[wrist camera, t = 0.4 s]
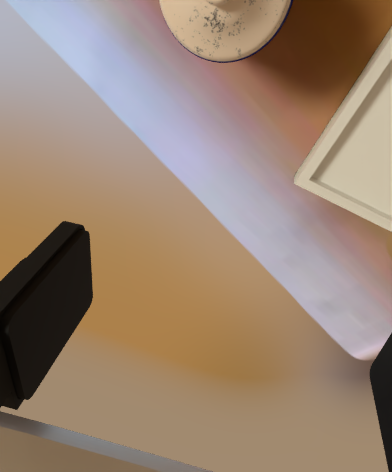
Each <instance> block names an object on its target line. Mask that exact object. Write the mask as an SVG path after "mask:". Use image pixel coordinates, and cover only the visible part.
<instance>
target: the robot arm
mask: <svg viewBox="0 0 392 472" xmlns="http://www.w3.org/2000/svg"><path fill="white" fill-rule="evenodd" d="M92 298H93V291H92V272H91V253H90V236H89V232H88V231H85V228H84V226H83V225H80V224H75V223H71V222H66V221H63V222H62V223H61V224H60V225H59V226H58V227H57V228H56V229H55V230H54V231H53V232H52V233H51V234H50V235H49V236H48V237H47V238H46V239H45V240H44V241H43V242H42V243H41V244H40V245H39V246H38V247H37V248H36V249H35V250H34V251H33V252H32V253H31V254H30V255H29V256H28V257H27V258H24V259H23V260H22V261H20V262H19V264H17V265H16V266H15V267H14V268H13V269H12V270H11V271H10V272H9V273H8V274H7V275H6V276H5V277H4V278H3V279H2V280H1V281H0V407H1V406H5V407H9V408H12V409H15V410H17V409H18V408H19V406H20V405H21V403H22V402H23V400H24V399H26V400H28V399H30V398H31V397H32V396H33V394H34V393H35V391H36V390H37V388H38V386H39V385H40V383H41V382H42V380H43V379H44V377H45V375H46V374H47V372H48V371H49V369H50V368H51V366H52V365H53V363H54V361H55V360H56V358H57V357H58V355H59V353H60V352H61V351H62V349H63V347H64V346H65V344H66V343H67V341H68V340H69V338H70V336H71V335H72V333H73V332H74V330H75V329H76V327H77V326H78V324H79V323H80V321H81V319H82V318H83V316H84V315H85V313H86V312H87V310H88V308H89V307H90V305H91V302H92ZM370 380H371V385H372V390H373V395H374V400H375V405H376V410H377V415H378V420H379V425H380V430H381V435H382V440H383V445H384V449H385V455H386V459H387V464H388V469H389V472H392V333H391V335H390V337H389V338H388V340H387V341H386V343H385V345H384V346H383V348H382V349H381V351H380V352H379V354H378V356H377V357H376V359H375V360H374V362H373V364H372V366H371V369H370ZM0 472H213V471H209V470H206V469H202V468H199V467H196V466H192V465H189V464H185V463H182V462H178V461H175V460H171V459H168V458H164V457H161V456H158V455H154V454H151V453H147V452H143V451H140V450H137V449H133V448H130V447H126V446H123V445H119V444H116V443H112V442H109V441H105V440H102V439H98V438H95V437H92V436H88V435H85V434H81V433H78V432H74V431H71V430H67V429H64V428H60V427H56V426H53V425H49V424H45V423H42V422H38V421H34V420H30V419H26V418H23V417H19V416H15V415H12V414H8V413H4V412H0Z"/></svg>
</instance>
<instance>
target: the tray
mask: <svg viewBox="0 0 392 472" xmlns="http://www.w3.org/2000/svg"><path fill="white" fill-rule="evenodd" d="M294 183H295V184H296V185H298V186H300V187H302V188H304V189H306V190H308V191H310V192H312V193H314V194H316V195H318V196H320V197H322V198H324V199H326V200H328V201H330V202H332V203H334V204H336V205H338V206H340V207H342V208H345V209H347V210H349V211H351V212H353V213H355V214H357V215H359V216H361V217H363V218H365V219H367V220H369V221H371V222H373V223H375V224H377V225H379V226H381V227H383V228H385V229H387V230H389V231H391V232H392V26H391V28H390V29H389V31H388V32H387V34H386V36H385V37H384V39H383V40H382V42H381V43H380V45H379V46H378V48H377V49H376V51H375V52H374V54H373V56H372V57H371V59H370V60H369V62H368V63H367V65H366V66H365V68H364V69H363V71H362V72H361V74H360V76H359V77H358V79H357V80H356V82H355V83H354V85H353V86H352V88H351V89H350V91H349V92H348V94H347V96H346V97H345V99H344V100H343V102H342V103H341V105H340V106H339V108H338V109H337V111H336V112H335V114H334V116H333V117H332V119H331V120H330V122H329V123H328V125H327V126H326V128H325V129H324V131H323V132H322V134H321V136H320V137H319V139H318V140H317V142H316V143H315V145H314V146H313V148H312V149H311V151H310V152H309V154H308V156H307V157H306V159H305V160H304V162H303V163H302V165H301V166H300V168H299V169H298V171H297V172H296V174H295V176H294Z"/></svg>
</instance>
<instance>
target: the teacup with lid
mask: <svg viewBox="0 0 392 472" xmlns="http://www.w3.org/2000/svg"><path fill="white" fill-rule="evenodd" d="M292 2H293V0H159V3H160V7H161V10H162V14H163V16H164V19H165V21H166V23H167V25H168V27H169V29H170V31H171V32H172V34H173V35H174V37H175V38H176V39H177V40H178V42H179V43H180V44H181V45H182V46H183V47H184V48H186V49H187V50H188V51H189V52H191V53H192V54H194V55H196V56H198V57H200V58H202V59H205V60H208V61H212V62H218V63H228V62H235V61H239V60H243V59H245V58H248V57H250V56H252V55H254V54H255V53H257V52H258V51H260V50H261V49H263V48H264V47H265V46H266V45H267V44H268V43H269V42H270V41H271V40H272V39H273V38H274V37H275V36H276V34H277V33H278V32H279V30H280V29H281V27H282V25H283V24H284V22H285V20H286V18H287V16H288V14H289V11H290V8H291V5H292Z"/></svg>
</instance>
